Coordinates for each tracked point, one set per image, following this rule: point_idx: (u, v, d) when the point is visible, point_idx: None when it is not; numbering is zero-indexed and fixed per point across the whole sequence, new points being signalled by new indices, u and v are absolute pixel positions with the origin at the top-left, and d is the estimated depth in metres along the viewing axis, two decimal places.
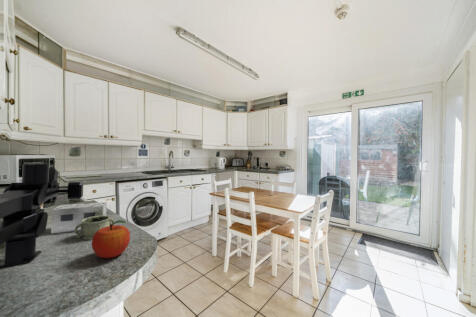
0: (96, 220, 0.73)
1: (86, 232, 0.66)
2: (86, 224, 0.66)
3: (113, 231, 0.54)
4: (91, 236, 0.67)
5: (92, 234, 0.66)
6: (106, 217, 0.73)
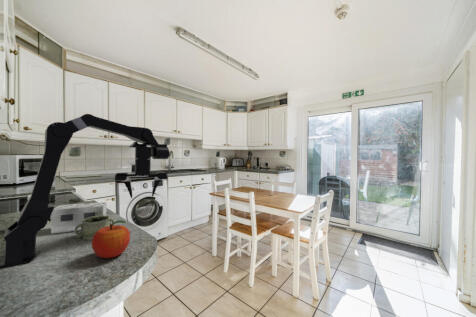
0: (96, 220, 0.73)
1: (86, 232, 0.66)
2: (86, 224, 0.66)
3: (113, 231, 0.54)
4: (91, 236, 0.67)
5: (92, 234, 0.66)
6: (106, 217, 0.73)
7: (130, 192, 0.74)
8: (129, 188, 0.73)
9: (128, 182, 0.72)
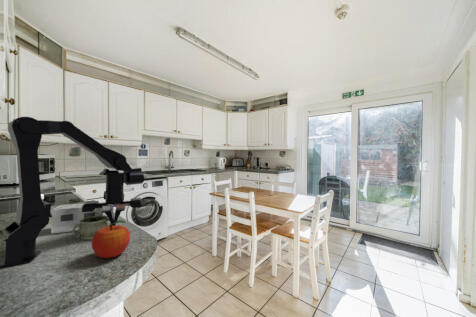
0: (94, 220, 0.73)
1: (84, 232, 0.65)
2: (84, 224, 0.66)
3: (113, 231, 0.54)
4: (89, 236, 0.66)
5: (90, 234, 0.66)
6: (104, 217, 0.73)
7: (112, 221, 0.71)
8: (110, 217, 0.70)
9: (109, 212, 0.69)
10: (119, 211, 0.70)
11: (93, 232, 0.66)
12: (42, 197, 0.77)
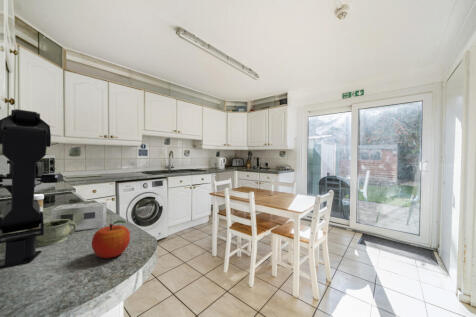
0: (56, 224, 0.68)
1: (40, 237, 0.60)
2: None
3: (113, 231, 0.54)
4: (47, 242, 0.61)
5: (47, 240, 0.61)
6: (67, 221, 0.68)
7: None
8: None
9: (11, 186, 0.58)
10: None
11: (51, 238, 0.61)
12: (42, 197, 0.77)
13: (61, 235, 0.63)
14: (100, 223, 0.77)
